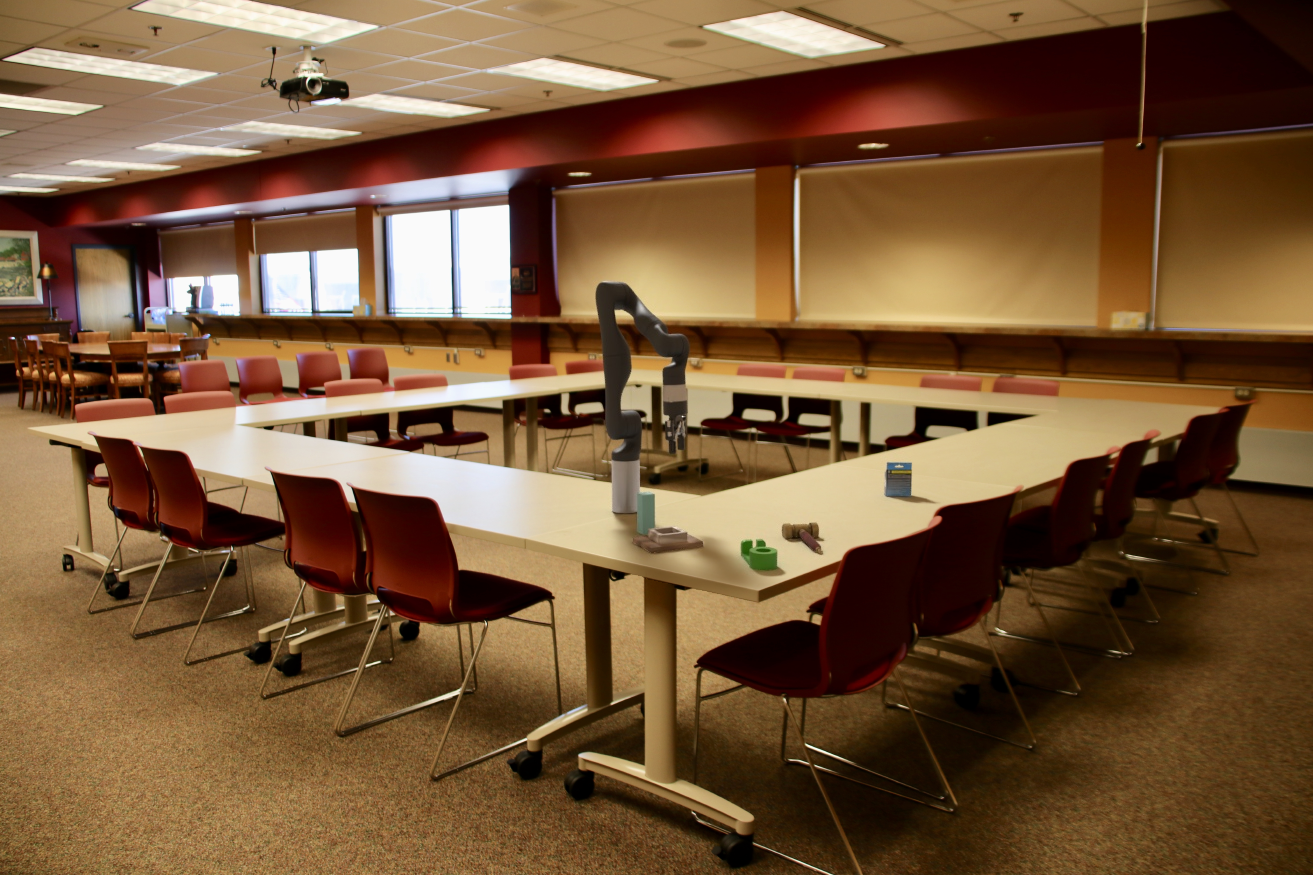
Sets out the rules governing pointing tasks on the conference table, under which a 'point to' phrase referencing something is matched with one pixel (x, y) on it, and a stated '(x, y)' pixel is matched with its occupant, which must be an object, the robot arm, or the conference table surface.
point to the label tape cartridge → (898, 479)
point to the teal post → (645, 512)
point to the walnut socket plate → (667, 540)
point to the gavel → (803, 534)
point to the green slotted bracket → (759, 555)
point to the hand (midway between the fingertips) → (677, 451)
